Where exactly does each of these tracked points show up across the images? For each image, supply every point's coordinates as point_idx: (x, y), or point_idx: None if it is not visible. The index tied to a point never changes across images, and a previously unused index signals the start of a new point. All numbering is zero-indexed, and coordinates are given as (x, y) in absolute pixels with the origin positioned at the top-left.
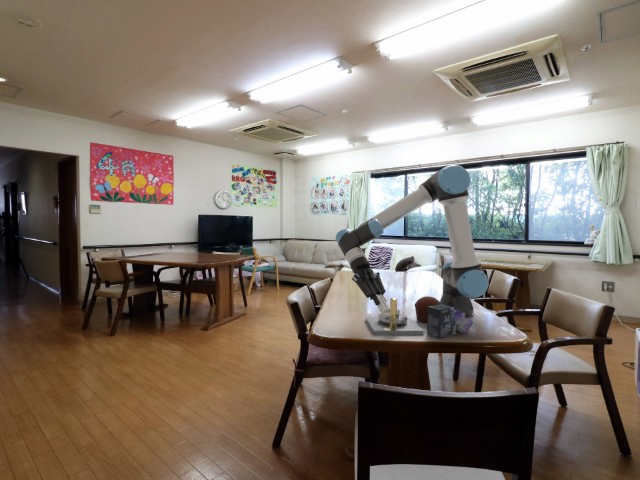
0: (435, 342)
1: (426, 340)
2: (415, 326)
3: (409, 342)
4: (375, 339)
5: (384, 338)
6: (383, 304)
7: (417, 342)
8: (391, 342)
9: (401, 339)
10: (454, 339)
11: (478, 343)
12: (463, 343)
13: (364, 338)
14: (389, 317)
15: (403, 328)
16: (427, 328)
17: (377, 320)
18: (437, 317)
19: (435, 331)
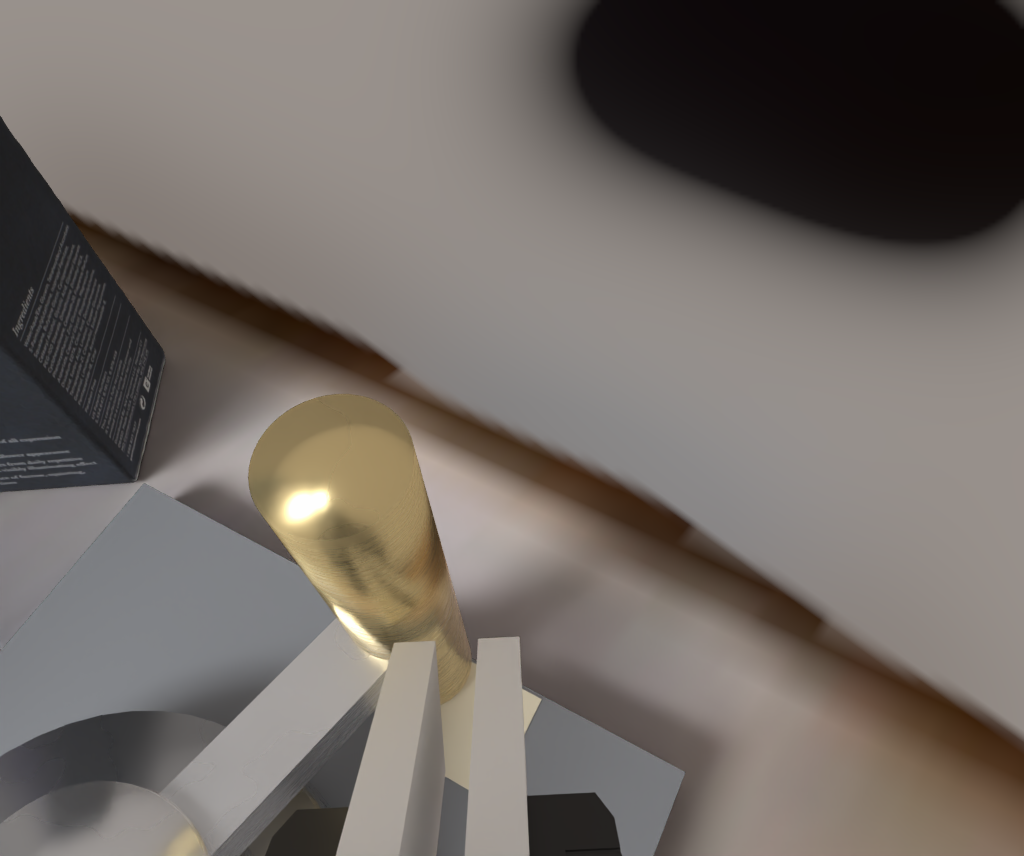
0: (268, 326)
1: (289, 387)
2: (62, 636)
3: (471, 418)
4: (747, 637)
5: (628, 614)
6: (488, 713)
7: (405, 388)
8: (633, 491)
9: (478, 507)
10: None
11: None
12: (107, 232)
13: (863, 731)
14: None
15: (261, 650)
16: (105, 442)
17: None
18: (49, 228)
19: (130, 354)
